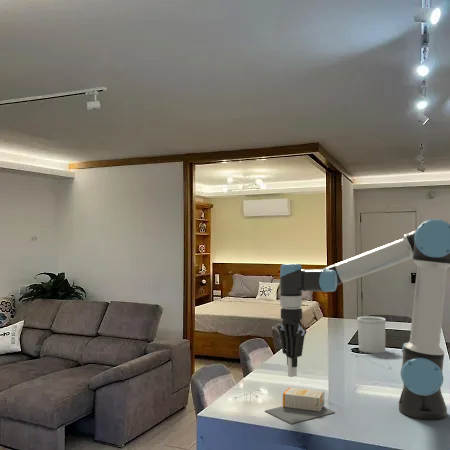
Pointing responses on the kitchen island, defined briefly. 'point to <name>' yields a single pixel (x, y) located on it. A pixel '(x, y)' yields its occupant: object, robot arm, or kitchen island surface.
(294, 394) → the supplement box
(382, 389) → the kitchen island surface
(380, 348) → the utensil holder
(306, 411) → the mat
